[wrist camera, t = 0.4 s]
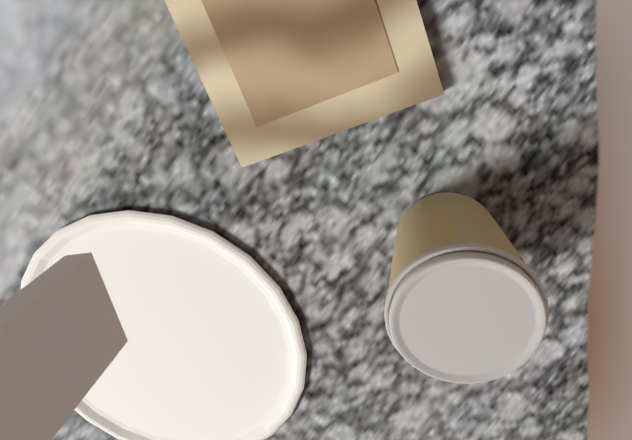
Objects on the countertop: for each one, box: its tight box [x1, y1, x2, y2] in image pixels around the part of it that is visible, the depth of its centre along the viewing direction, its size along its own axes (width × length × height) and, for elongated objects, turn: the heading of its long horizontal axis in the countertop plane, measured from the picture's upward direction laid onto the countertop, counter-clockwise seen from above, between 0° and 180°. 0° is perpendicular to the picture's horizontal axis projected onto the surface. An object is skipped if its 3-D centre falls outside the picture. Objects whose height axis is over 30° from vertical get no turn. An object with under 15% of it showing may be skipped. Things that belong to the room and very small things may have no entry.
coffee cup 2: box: [384, 192, 549, 384], centre depth 33 cm, size 9×9×12 cm
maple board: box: [165, 0, 444, 167], centre depth 33 cm, size 16×16×1 cm
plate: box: [21, 210, 307, 440], centre depth 47 cm, size 29×29×1 cm
